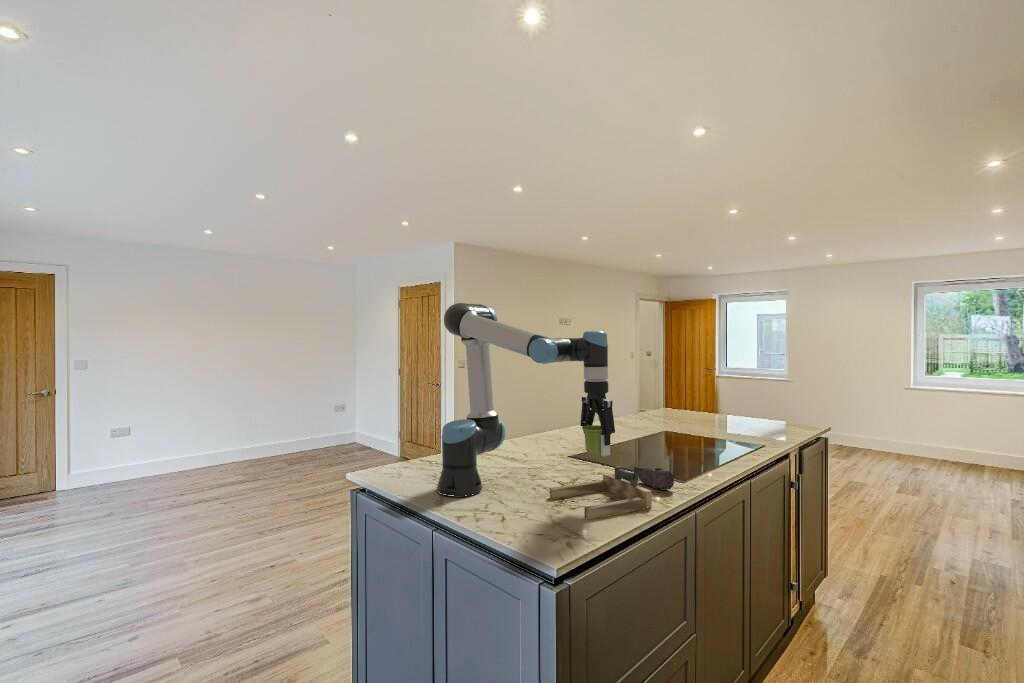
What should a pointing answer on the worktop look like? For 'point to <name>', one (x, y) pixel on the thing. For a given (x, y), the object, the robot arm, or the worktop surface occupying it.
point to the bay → (615, 484)
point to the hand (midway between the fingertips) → (597, 452)
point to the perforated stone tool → (656, 478)
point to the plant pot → (593, 440)
